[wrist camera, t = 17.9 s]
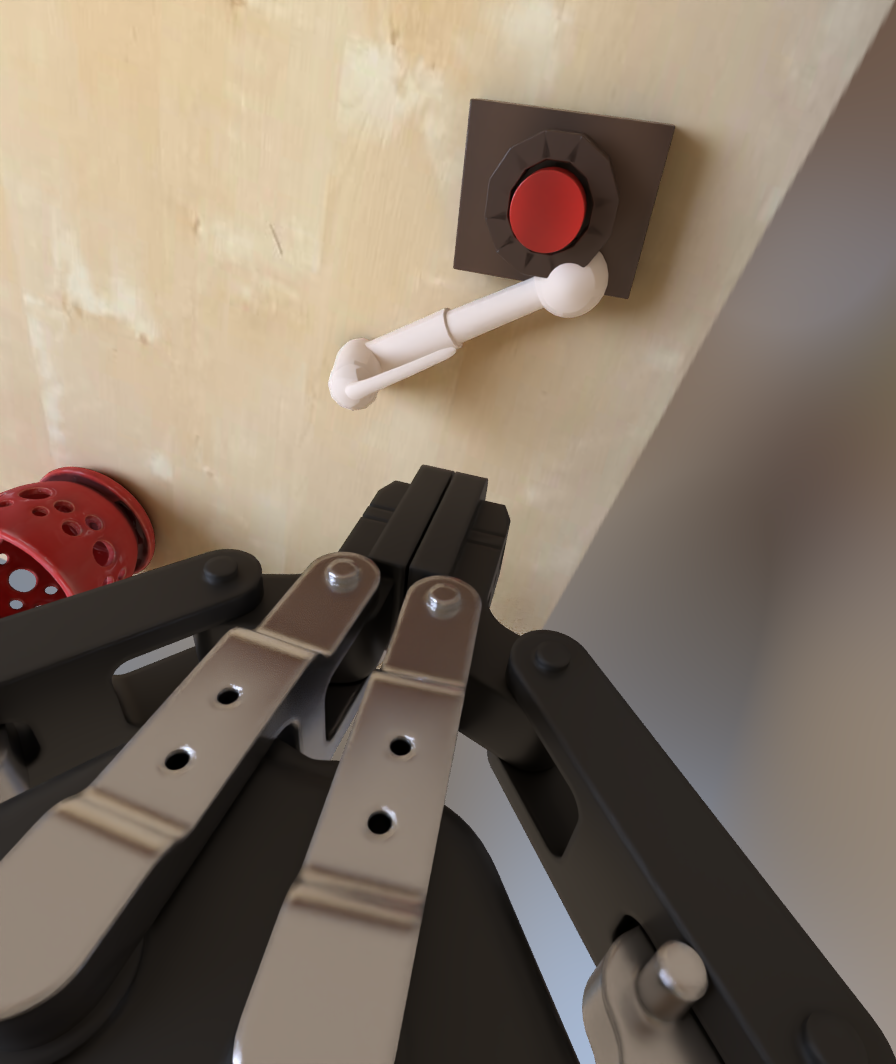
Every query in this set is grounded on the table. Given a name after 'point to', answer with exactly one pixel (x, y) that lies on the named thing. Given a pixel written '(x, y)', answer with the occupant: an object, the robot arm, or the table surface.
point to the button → (548, 209)
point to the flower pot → (70, 536)
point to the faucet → (459, 330)
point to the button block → (578, 146)
